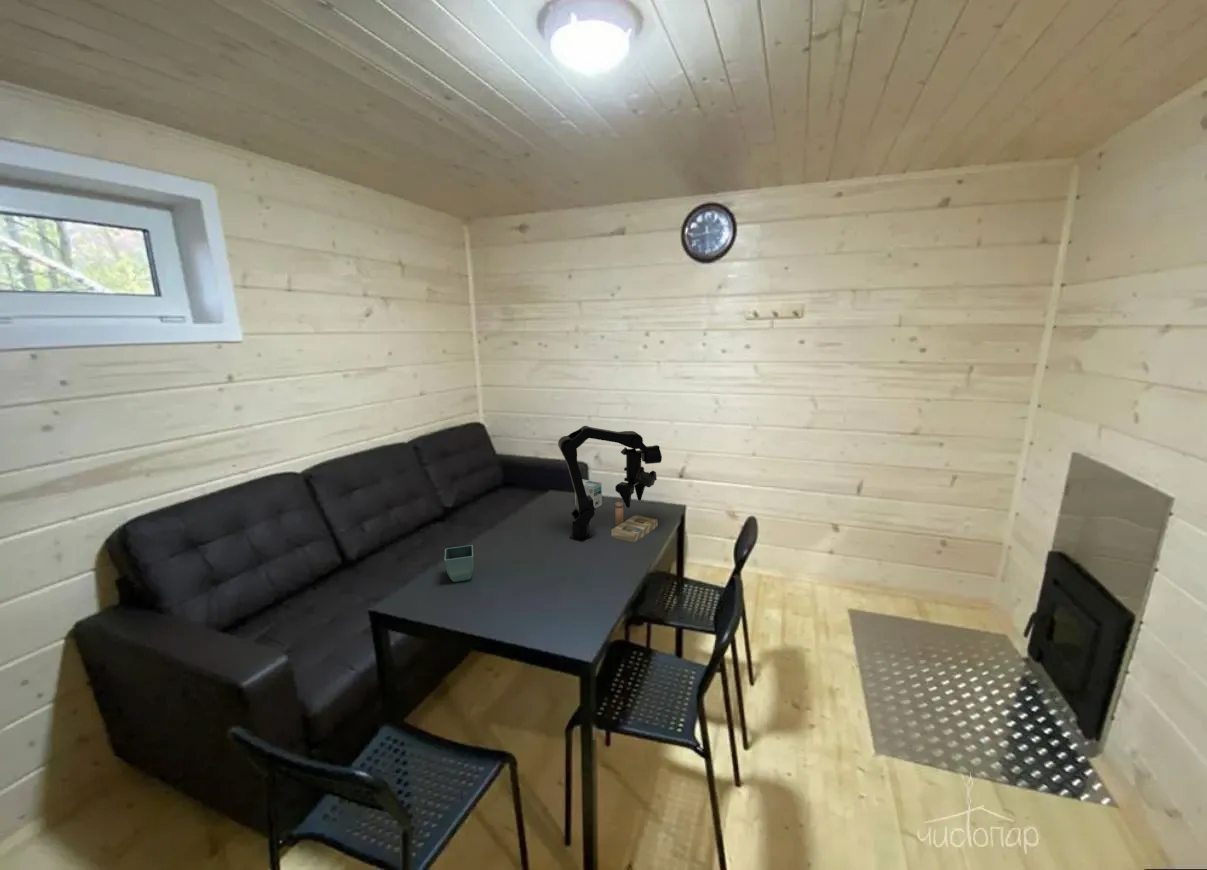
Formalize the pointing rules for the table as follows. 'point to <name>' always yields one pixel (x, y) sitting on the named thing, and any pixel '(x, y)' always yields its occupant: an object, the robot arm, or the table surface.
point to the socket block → (634, 528)
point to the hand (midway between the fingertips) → (634, 503)
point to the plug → (619, 513)
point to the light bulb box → (593, 491)
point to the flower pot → (459, 562)
